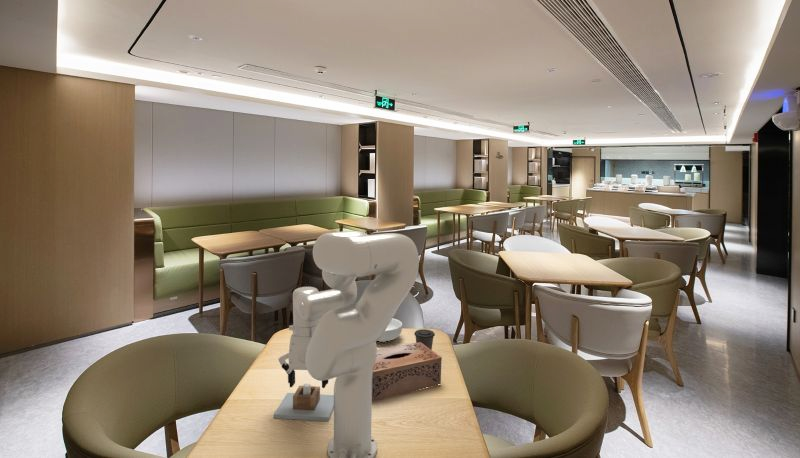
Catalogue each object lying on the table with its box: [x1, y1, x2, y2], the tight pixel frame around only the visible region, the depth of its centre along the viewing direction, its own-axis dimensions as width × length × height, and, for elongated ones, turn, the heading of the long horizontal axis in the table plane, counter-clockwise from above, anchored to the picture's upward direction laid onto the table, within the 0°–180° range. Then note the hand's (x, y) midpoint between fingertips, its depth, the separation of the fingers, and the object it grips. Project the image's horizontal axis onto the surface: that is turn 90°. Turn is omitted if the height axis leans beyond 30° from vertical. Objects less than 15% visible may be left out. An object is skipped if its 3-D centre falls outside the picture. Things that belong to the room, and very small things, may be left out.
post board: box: [273, 383, 334, 422], centre depth 124 cm, size 12×16×7 cm
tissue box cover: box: [372, 342, 443, 403], centre depth 140 cm, size 26×14×10 cm, turn 117°
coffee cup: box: [413, 328, 436, 351], centre depth 163 cm, size 8×8×10 cm
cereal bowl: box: [377, 317, 403, 343], centre depth 178 cm, size 17×17×7 cm
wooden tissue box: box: [293, 385, 321, 410], centre depth 125 cm, size 6×6×4 cm
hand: (308, 385), depth 123 cm, fingers open, 9 cm apart
